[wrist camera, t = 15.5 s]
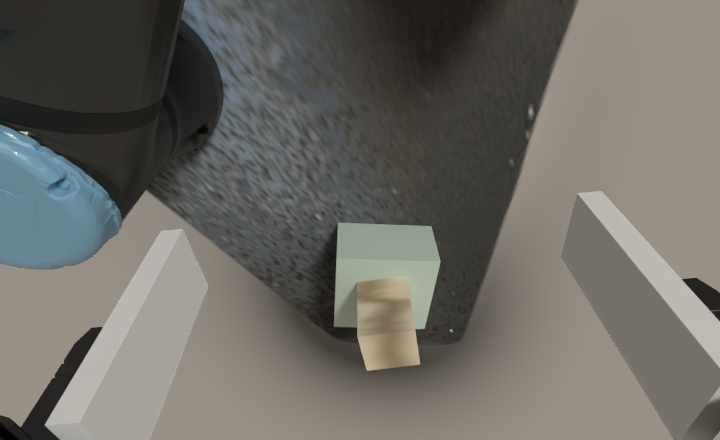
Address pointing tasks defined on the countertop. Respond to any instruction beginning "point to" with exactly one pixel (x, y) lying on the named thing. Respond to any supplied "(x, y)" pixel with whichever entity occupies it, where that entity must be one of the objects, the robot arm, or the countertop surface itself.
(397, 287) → the maple block
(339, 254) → the sage block
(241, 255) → the countertop surface
